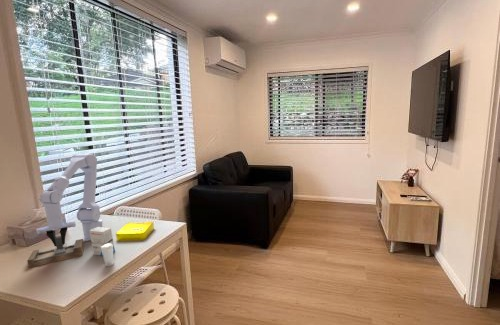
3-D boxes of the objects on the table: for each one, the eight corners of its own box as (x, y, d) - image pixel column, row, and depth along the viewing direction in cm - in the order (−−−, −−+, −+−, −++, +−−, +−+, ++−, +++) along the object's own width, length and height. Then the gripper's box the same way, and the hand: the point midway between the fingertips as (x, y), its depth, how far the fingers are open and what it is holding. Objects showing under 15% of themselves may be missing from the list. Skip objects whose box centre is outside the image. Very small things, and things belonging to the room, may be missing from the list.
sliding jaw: (67, 248, 133) (64, 233, 132) (65, 253, 128) (62, 238, 127) (57, 250, 132) (54, 235, 130) (54, 255, 126) (51, 240, 125)
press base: (84, 246, 138) (82, 238, 138) (82, 255, 129) (80, 247, 129) (34, 257, 130) (32, 249, 129) (28, 267, 121) (26, 258, 120)
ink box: (115, 251, 131) (111, 227, 129) (107, 256, 127) (103, 232, 125) (101, 249, 134) (97, 226, 132) (92, 254, 130) (88, 230, 128)
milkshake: (104, 262, 122) (100, 240, 120) (117, 261, 122) (113, 239, 120) (99, 268, 117) (96, 245, 116) (113, 266, 118) (109, 244, 116)
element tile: (155, 228, 157) (154, 220, 156) (144, 240, 142) (143, 231, 141) (128, 229, 157) (127, 221, 156) (115, 241, 142) (114, 233, 141)
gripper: (32, 222, 120) (38, 252, 123) (72, 215, 126) (77, 244, 129) (36, 217, 127) (42, 245, 129) (74, 211, 133) (78, 238, 135)
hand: (59, 244), depth 129 cm, fingers closed on sliding jaw, 2 cm apart
